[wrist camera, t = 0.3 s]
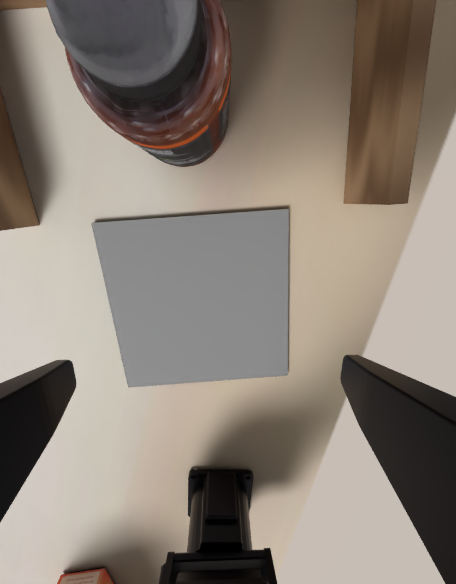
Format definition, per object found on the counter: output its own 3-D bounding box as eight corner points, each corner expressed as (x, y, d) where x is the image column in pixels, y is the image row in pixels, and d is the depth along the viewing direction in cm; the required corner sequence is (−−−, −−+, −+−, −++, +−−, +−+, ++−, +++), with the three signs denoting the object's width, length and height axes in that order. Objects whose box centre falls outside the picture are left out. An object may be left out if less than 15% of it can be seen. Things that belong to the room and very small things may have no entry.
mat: (286, 372, 24) (287, 375, 24) (129, 384, 24) (128, 387, 24) (287, 208, 20) (288, 208, 19) (93, 222, 19) (91, 223, 19)
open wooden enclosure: (357, 202, 20) (407, 203, 14) (25, 226, 19) (-47, 235, 14) (377, -38, 15) (458, -161, 10) (-47, -11, 15) (-186, -121, 10)
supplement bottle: (202, 43, 16) (170, -257, 6) (242, 144, 18) (274, 63, 7) (117, 91, 17) (-58, -96, 6) (163, 184, 19) (89, 162, 8)
